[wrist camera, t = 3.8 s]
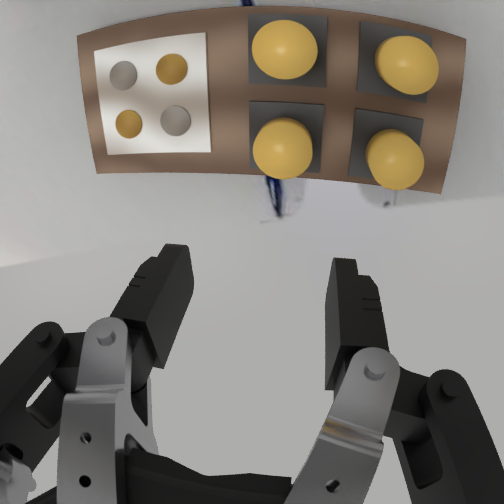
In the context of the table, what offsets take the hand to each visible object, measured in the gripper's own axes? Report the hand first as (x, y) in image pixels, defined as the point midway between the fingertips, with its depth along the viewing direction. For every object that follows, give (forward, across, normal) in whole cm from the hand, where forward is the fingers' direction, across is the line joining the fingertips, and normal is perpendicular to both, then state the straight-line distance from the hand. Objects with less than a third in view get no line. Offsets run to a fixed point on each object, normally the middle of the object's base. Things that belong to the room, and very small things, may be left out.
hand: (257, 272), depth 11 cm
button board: (+19, +2, -4) cm, 20 cm away
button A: (+14, 0, -7) cm, 16 cm away
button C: (+14, -8, -7) cm, 18 cm away
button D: (+14, -8, 0) cm, 16 cm away
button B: (+14, 0, 0) cm, 14 cm away
